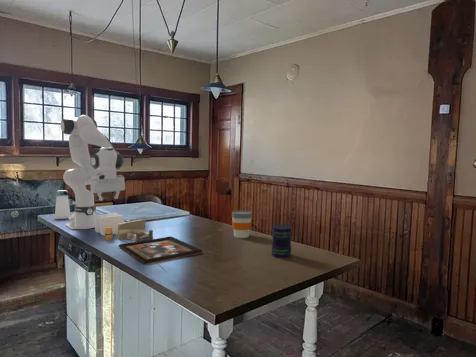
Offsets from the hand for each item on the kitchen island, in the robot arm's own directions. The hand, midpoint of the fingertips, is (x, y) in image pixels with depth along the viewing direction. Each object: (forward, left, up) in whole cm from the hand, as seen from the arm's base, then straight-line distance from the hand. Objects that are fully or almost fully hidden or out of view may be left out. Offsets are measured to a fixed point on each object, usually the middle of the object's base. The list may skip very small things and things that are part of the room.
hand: (109, 199), depth 206 cm
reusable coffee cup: (+52, +57, -23) cm, 81 cm away
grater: (-81, +11, -23) cm, 85 cm away
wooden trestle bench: (+10, +12, -23) cm, 28 cm away
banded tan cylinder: (0, -1, -23) cm, 23 cm away
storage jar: (+91, +40, -23) cm, 103 cm away
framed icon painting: (+38, +5, -24) cm, 46 cm away
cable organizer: (-12, +7, -23) cm, 27 cm away
